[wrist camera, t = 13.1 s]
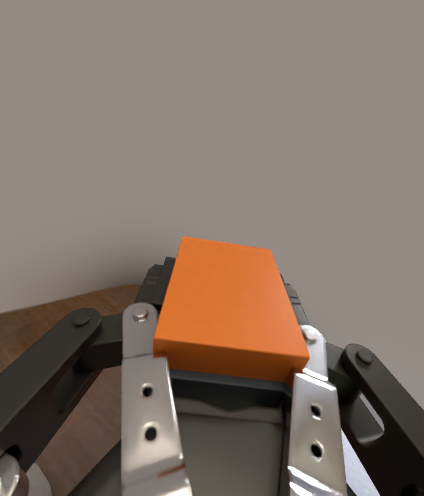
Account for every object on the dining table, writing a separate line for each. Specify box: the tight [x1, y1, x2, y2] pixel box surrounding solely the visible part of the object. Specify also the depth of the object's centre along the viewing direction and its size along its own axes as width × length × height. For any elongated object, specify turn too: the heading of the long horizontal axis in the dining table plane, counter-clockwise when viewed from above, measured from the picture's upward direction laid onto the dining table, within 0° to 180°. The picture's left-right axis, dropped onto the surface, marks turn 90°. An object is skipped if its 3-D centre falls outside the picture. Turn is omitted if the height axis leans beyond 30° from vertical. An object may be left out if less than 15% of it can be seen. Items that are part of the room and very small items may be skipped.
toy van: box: [152, 236, 310, 411], centre depth 12 cm, size 7×5×10 cm
